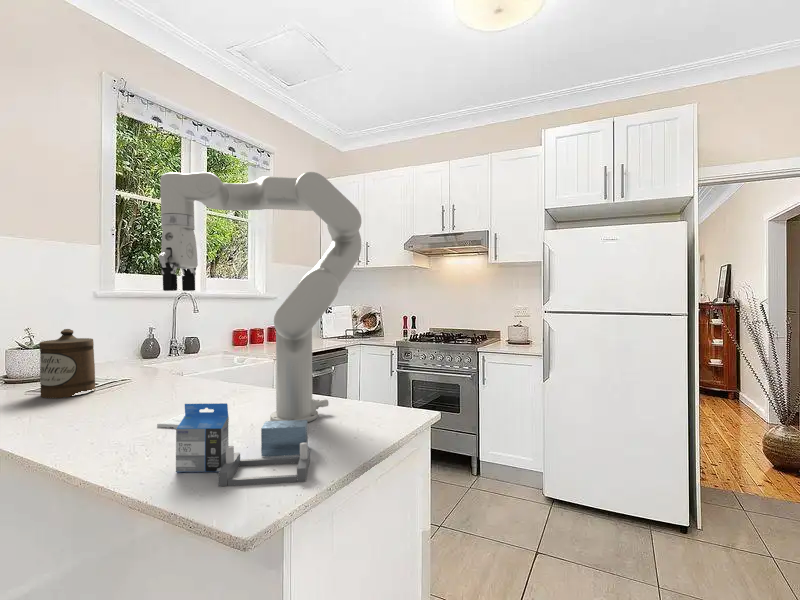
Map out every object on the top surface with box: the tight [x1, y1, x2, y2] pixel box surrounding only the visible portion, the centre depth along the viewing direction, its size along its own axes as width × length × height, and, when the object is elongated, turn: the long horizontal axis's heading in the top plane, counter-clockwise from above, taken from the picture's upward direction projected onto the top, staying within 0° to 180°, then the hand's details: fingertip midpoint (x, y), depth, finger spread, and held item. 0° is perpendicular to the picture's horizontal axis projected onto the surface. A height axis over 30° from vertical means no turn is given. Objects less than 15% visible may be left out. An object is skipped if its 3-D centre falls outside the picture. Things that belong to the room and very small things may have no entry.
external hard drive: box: [156, 410, 213, 429], centre depth 116 cm, size 2×8×12 cm
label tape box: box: [175, 402, 230, 473], centre depth 84 cm, size 9×4×12 cm, turn 90°
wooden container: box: [39, 328, 96, 399], centre depth 148 cm, size 15×15×22 cm
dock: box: [217, 443, 311, 487], centre depth 82 cm, size 10×15×5 cm, turn 97°
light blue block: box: [260, 420, 309, 457], centre depth 93 cm, size 5×9×6 cm, turn 97°
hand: (179, 290), depth 111 cm, fingers open, 9 cm apart
